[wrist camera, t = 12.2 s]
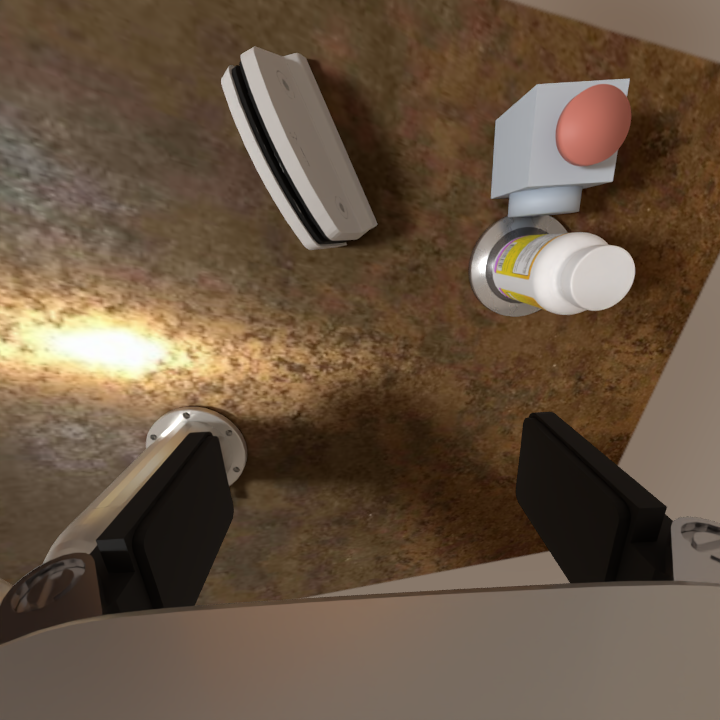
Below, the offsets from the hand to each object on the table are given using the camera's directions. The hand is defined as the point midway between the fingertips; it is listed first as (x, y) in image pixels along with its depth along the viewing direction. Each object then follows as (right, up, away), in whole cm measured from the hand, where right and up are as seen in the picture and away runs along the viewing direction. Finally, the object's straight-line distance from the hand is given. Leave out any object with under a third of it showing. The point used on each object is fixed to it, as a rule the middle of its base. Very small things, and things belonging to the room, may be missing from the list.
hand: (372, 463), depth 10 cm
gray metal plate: (+17, +14, +27) cm, 35 cm away
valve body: (+17, +24, +24) cm, 38 cm away
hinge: (-5, +23, +24) cm, 34 cm away
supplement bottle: (+17, +13, +26) cm, 34 cm away
